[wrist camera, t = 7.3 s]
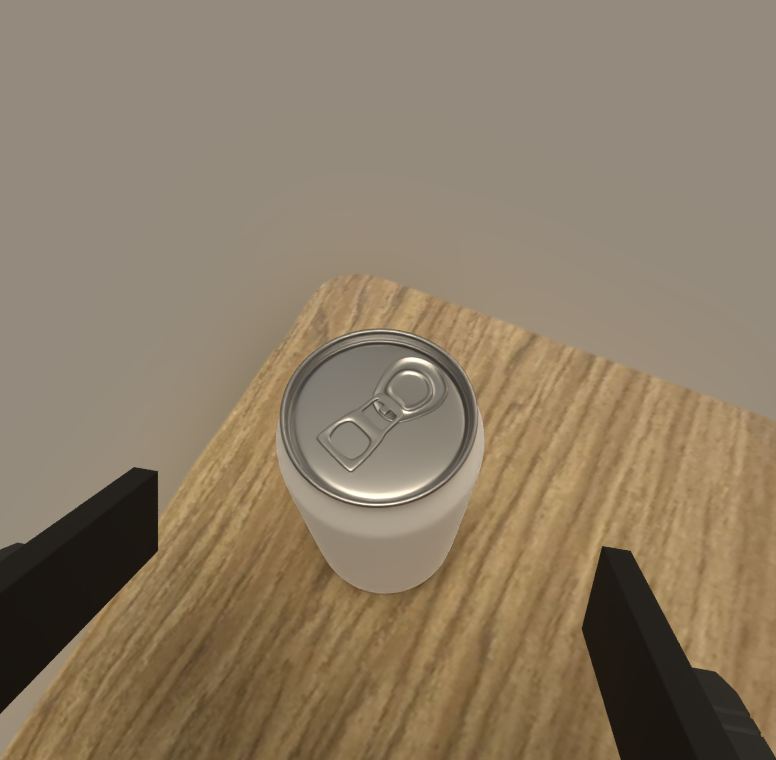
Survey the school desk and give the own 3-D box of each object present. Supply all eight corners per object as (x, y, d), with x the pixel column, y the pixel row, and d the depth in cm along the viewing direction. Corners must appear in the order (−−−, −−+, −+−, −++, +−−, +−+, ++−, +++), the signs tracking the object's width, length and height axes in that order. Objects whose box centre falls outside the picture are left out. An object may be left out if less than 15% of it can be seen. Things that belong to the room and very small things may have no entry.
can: (482, 524, 26) (542, 411, 15) (383, 629, 24) (373, 579, 13) (387, 434, 28) (382, 282, 18) (289, 521, 26) (217, 407, 16)
